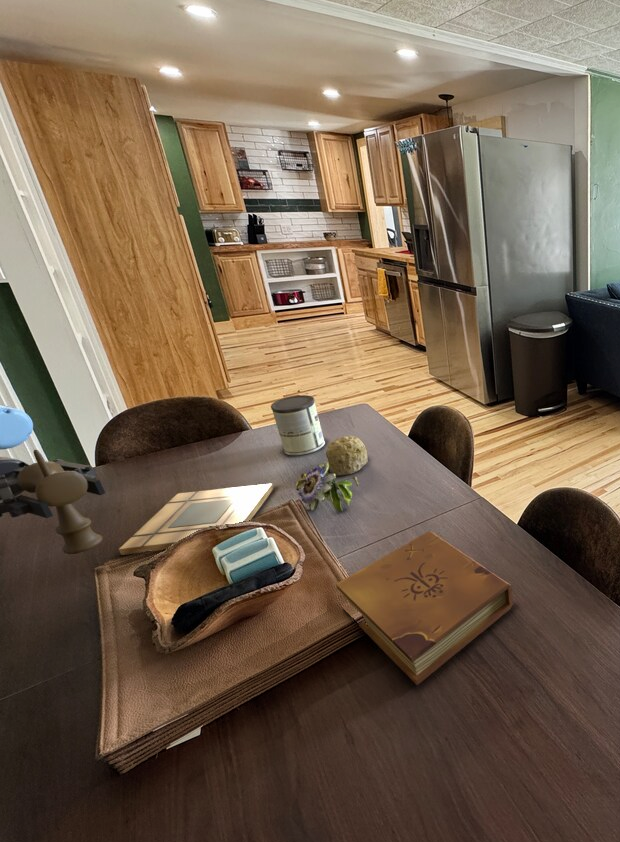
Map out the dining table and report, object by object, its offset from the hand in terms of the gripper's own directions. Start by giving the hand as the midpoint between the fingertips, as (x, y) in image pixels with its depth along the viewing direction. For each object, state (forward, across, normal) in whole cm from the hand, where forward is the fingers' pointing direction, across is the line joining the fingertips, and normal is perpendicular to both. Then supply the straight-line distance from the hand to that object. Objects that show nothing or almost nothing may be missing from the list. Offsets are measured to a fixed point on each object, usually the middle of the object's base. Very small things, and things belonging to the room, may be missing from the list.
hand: (74, 498), depth 80 cm
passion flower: (+17, -32, -18) cm, 41 cm away
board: (-4, -19, -18) cm, 27 cm away
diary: (+58, -13, -19) cm, 62 cm away
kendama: (-5, 0, -12) cm, 13 cm away
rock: (+8, -47, -18) cm, 51 cm away
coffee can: (-12, -52, -18) cm, 56 cm away
